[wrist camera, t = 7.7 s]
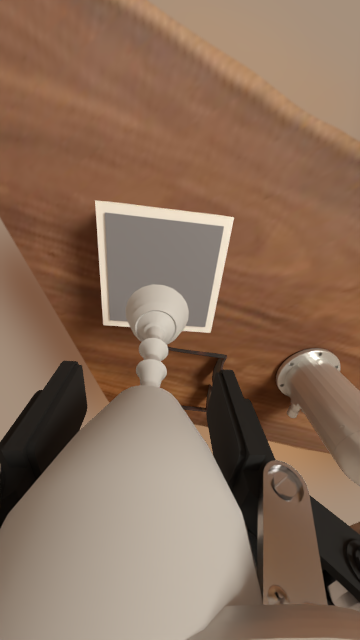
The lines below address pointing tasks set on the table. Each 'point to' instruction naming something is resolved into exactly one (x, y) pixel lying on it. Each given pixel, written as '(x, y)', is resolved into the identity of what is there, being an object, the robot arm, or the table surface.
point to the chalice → (128, 517)
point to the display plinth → (160, 257)
